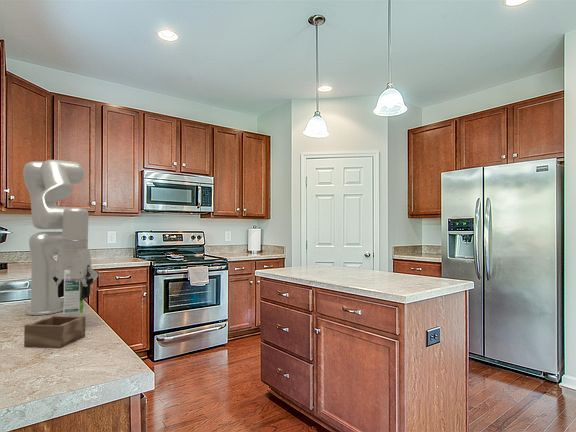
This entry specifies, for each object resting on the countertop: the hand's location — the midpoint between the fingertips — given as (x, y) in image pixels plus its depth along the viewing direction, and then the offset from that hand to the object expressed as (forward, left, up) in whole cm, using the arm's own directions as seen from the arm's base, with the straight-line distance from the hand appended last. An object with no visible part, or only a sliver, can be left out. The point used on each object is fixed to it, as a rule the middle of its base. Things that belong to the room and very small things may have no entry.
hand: (73, 296), depth 124 cm
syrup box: (0, 0, -5) cm, 5 cm away
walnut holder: (+14, +5, -10) cm, 18 cm away
